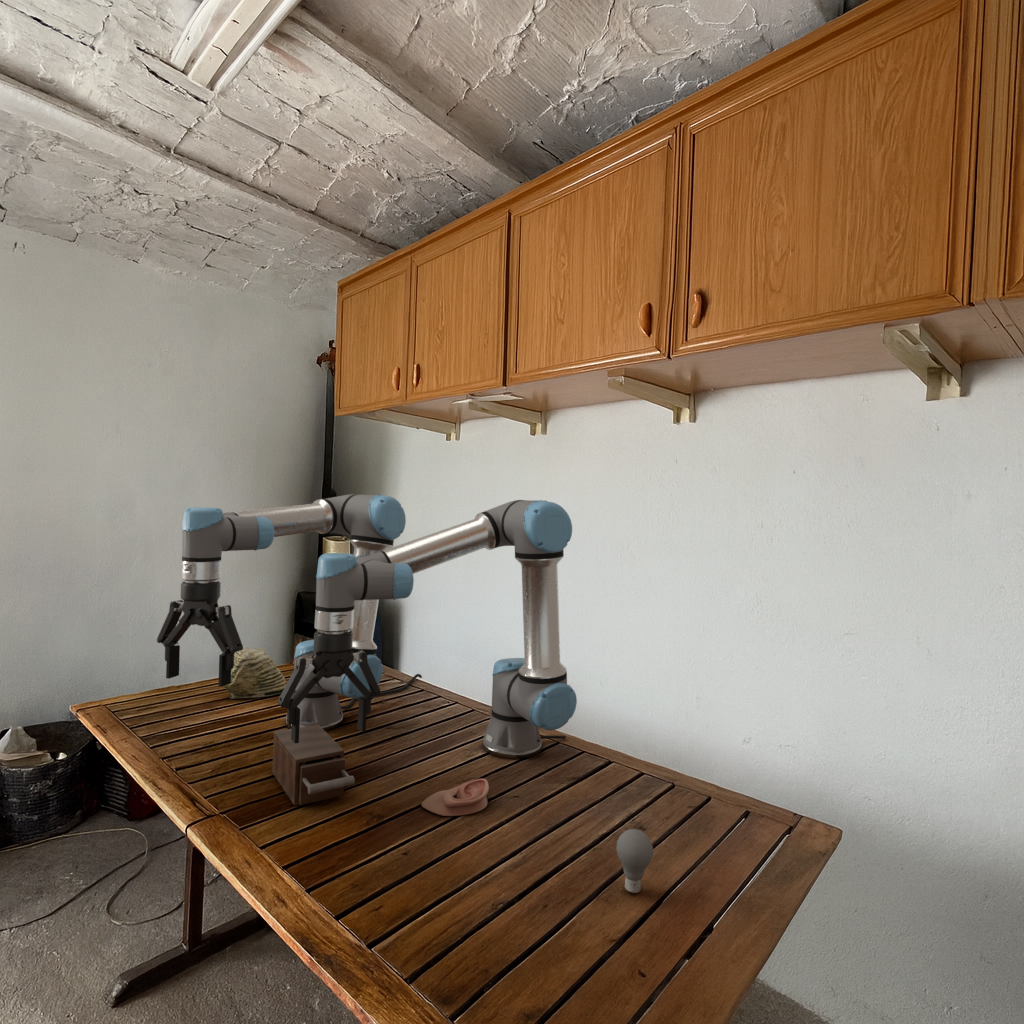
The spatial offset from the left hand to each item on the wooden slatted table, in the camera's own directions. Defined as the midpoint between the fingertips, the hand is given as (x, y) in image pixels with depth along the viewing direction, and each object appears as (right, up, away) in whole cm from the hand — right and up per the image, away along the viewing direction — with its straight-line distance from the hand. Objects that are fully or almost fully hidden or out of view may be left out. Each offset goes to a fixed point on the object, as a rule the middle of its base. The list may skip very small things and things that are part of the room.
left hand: (198, 680), depth 134 cm
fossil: (-14, -22, +64) cm, 69 cm away
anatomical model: (+54, -26, -1) cm, 60 cm away
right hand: (+29, -9, -6) cm, 31 cm away
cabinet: (+21, -24, +6) cm, 32 cm away
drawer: (+24, -23, +1) cm, 34 cm away
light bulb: (+86, -28, -28) cm, 95 cm away
